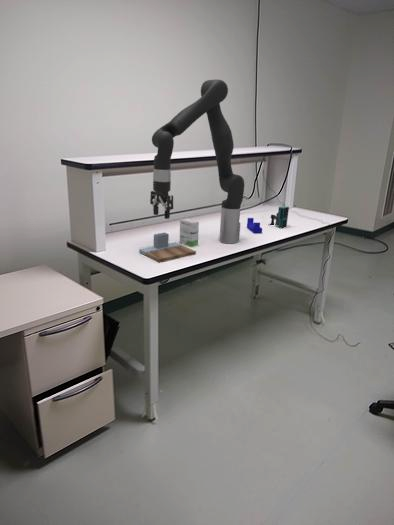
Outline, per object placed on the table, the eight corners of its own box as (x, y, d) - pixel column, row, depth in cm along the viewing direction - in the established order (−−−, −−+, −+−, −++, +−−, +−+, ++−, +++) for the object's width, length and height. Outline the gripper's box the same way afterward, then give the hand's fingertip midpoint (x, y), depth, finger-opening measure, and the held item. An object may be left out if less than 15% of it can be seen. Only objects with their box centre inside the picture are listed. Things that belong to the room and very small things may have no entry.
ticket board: (182, 248, 187) (182, 245, 187) (195, 254, 180) (196, 250, 180) (146, 256, 175) (146, 252, 175) (159, 262, 168) (159, 258, 168)
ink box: (198, 245, 194) (199, 221, 190) (191, 247, 190) (192, 222, 186) (186, 241, 199) (186, 217, 195) (178, 242, 196) (179, 219, 192)
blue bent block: (261, 233, 218) (262, 223, 216) (253, 234, 217) (254, 223, 215) (254, 228, 229) (255, 217, 227) (246, 228, 228) (247, 217, 226)
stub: (175, 245, 191) (175, 229, 189) (181, 247, 188) (182, 232, 185) (139, 252, 179) (139, 236, 177) (145, 255, 176) (145, 238, 173)
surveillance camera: (274, 203, 236) (289, 206, 229) (272, 223, 240) (286, 227, 234) (269, 204, 232) (284, 208, 226) (267, 225, 236) (281, 228, 230)
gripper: (178, 181, 170) (177, 219, 175) (159, 177, 180) (159, 212, 185) (164, 182, 165) (163, 221, 171) (145, 177, 175) (145, 214, 181)
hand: (161, 216), depth 178 cm, fingers open, 8 cm apart
